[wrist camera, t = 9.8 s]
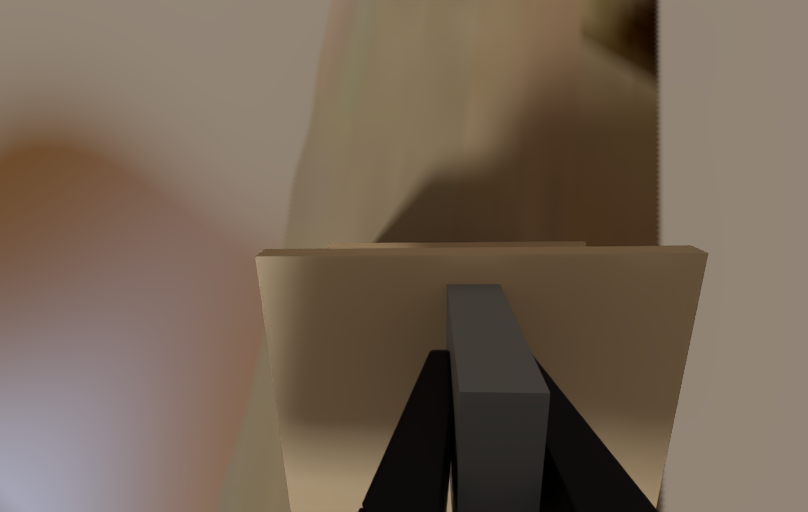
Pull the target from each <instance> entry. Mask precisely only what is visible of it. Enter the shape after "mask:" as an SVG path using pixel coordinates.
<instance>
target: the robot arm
mask: <svg viewBox="0 0 808 512" xmlns="http://www.w3.org/2000/svg"><path fill="white" fill-rule="evenodd" d="M532 355H533V354H532ZM533 357H534V356H533ZM534 359H535V361H536V363H537V365H538V368H539V370H540V372H541V374H542V376H543V378H544V380H545V383H546V385H547V387H548V389H549V391H550V402H549V413H548V423H547V434H546V445H545V455H544V466H543V476H542V487H541V497H540V508H539V512H658V510H657V509H656V508H655V507H654V505H653V504H652V503H651V502H650V500H649V499H648V498H647V497H646V495H645V494H644V493H643V492H642V490H641V489H640V488H639V487H638V485H637V484H636V483H635V482H634V480H633V479H632V478H631V477H630V475H629V474H628V473H627V472H626V470H625V469H624V468H623V467H622V465H621V464H620V463H619V462H618V460H617V459H616V458H615V457H614V455H613V454H612V453H611V452H610V451H609V449H608V448H607V447H606V446H605V444H604V443H603V442H602V441H601V439H600V438H599V437H598V436H597V434H596V433H595V432H594V431H593V429H592V428H591V427H590V426H589V424H588V423H587V422H586V421H585V419H584V418H583V417H582V416H581V414H580V413H579V412H578V411H577V409H576V408H575V407H574V406H573V404H572V403H571V402H570V401H569V399H568V398H567V397H566V396H565V394H564V393H563V392H562V391H561V389H560V388H559V387H558V386H557V384H556V383H555V382H554V381H553V379H552V378H551V377H550V376H549V374H548V373H547V372H546V371H545V369H544V368H543V367H542V366H541V364H540V363H539V362H538V361H537V359H536V358H535V357H534ZM453 408H454V405H453V390H452V376H451V363H450V352H449V351H448V350H431V351H430V352H429V354H428V356H427V358H426V360H425V363H424V365H423V367H422V369H421V372H420V374H419V376H418V378H417V381H416V383H415V385H414V387H413V390H412V392H411V394H410V396H409V399H408V401H407V403H406V405H405V408H404V410H403V412H402V414H401V417H400V419H399V421H398V423H397V426H396V428H395V430H394V432H393V435H392V437H391V439H390V441H389V444H388V446H387V448H386V450H385V453H384V455H383V457H382V459H381V462H380V464H379V466H378V468H377V471H376V473H375V475H374V477H373V480H372V482H371V484H370V486H369V489H368V491H367V493H366V495H365V498H364V500H363V502H362V507H363V508H360V509H359V511H358V512H447V503H448V491H449V479H450V467H451V448H452V428H453Z"/></svg>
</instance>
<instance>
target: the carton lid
mask: <svg viewBox="0 0 808 512" xmlns="http://www.w3.org/2000/svg"><path fill="white" fill-rule="evenodd" d="M707 257H708V253H707V252H704V251H702V250H700V249H698V248H695V247H693V246H586V247H469V248H352V249H265V250H264V251H262V252H261V253H259V254H258V255H257V256H256V257H255V258H256V265H257V272H258V279H259V287H260V293H261V301H262V308H263V315H264V322H265V329H266V337H267V344H268V351H269V358H270V365H271V372H272V379H273V386H274V394H275V401H276V408H277V415H278V422H279V429H280V436H281V444H282V451H283V458H284V465H285V472H286V479H287V486H288V494H289V501H290V508H291V512H358V511H359V509H360V508H363V507H362V502H363V500H364V498H365V495H366V493H367V491H368V489H369V486H370V484H371V482H372V480H373V477H374V475H375V473H376V471H377V468H378V466H379V464H380V462H381V459H382V457H383V455H384V453H385V450H386V448H387V446H388V444H389V441H390V439H391V437H392V435H393V432H394V430H395V428H396V426H397V423H398V421H399V419H400V417H401V414H402V412H403V410H404V408H405V405H406V403H407V401H408V399H409V396H410V394H411V392H412V390H413V387H414V385H415V383H416V381H417V378H418V376H419V374H420V372H421V369H422V367H423V365H424V363H425V360H426V358H427V356H428V354H429V352H430V351H431V350H448V351H449V352H450V363H451V376H452V390H453V405H454V408H453V428H452V448H451V467H450V479H449V491H448V503H447V512H539V508H540V497H541V487H542V476H543V466H544V455H545V445H546V434H547V423H548V413H549V402H550V391H549V389H548V387H547V385H546V383H545V380H544V378H543V376H542V374H541V372H540V370H539V368H538V365H537V363H536V361H535V359H534V357H535V358H536V359H537V361H538V362H539V363H540V364H541V366H542V367H543V368H544V369H545V371H546V372H547V373H548V374H549V376H550V377H551V378H552V379H553V381H554V382H555V383H556V384H557V386H558V387H559V388H560V389H561V391H562V392H563V393H564V394H565V396H566V397H567V398H568V399H569V401H570V402H571V403H572V404H573V406H574V407H575V408H576V409H577V411H578V412H579V413H580V414H581V416H582V417H583V418H584V419H585V421H586V422H587V423H588V424H589V426H590V427H591V428H592V429H593V431H594V432H595V433H596V434H597V436H598V437H599V438H600V439H601V441H602V442H603V443H604V444H605V446H606V447H607V448H608V449H609V451H610V452H611V453H612V454H613V455H614V457H615V458H616V459H617V460H618V462H619V463H620V464H621V465H622V467H623V468H624V469H625V470H626V472H627V473H628V474H629V475H630V477H631V478H632V479H633V480H634V482H635V483H636V484H637V485H638V487H639V488H640V489H641V490H642V492H643V493H644V494H645V495H646V497H647V498H648V499H649V500H650V502H651V503H652V504H653V505H654V507H655V508H656V506H657V501H658V496H659V491H660V486H661V481H662V477H663V472H664V467H665V462H666V457H667V452H668V447H669V442H670V437H671V433H672V428H673V423H674V418H675V413H676V408H677V403H678V398H679V394H680V388H681V384H682V378H683V374H684V369H685V364H686V359H687V354H688V350H689V345H690V340H691V335H692V330H693V325H694V320H695V315H696V311H697V306H698V301H699V296H700V291H701V286H702V281H703V276H704V271H705V267H706V262H707ZM532 354H533V355H532ZM533 356H534V357H533Z"/></svg>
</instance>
